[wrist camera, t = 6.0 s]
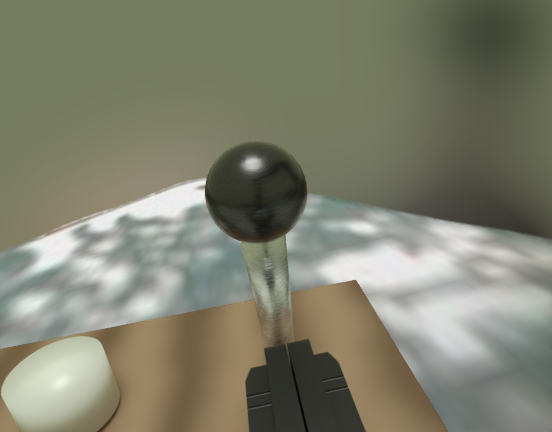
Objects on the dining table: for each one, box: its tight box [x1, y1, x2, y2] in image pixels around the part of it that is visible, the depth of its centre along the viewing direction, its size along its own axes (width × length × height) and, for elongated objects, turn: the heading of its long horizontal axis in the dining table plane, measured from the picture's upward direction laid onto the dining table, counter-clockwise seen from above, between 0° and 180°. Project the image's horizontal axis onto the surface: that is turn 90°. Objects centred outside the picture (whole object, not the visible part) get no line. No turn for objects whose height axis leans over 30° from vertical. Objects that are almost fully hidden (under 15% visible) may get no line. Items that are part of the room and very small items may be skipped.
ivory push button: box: [1, 336, 120, 432], centre depth 22 cm, size 5×5×3 cm
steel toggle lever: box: [205, 141, 307, 362], centre depth 17 cm, size 3×3×16 cm
